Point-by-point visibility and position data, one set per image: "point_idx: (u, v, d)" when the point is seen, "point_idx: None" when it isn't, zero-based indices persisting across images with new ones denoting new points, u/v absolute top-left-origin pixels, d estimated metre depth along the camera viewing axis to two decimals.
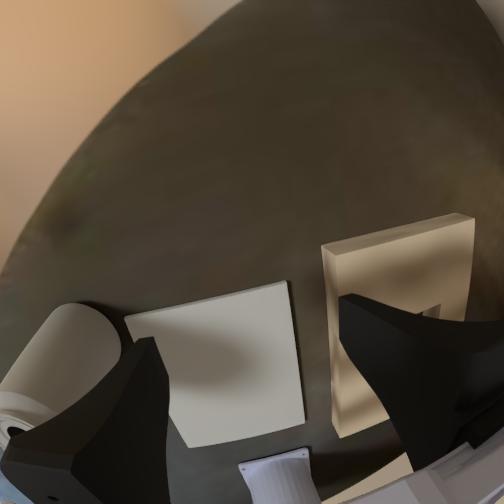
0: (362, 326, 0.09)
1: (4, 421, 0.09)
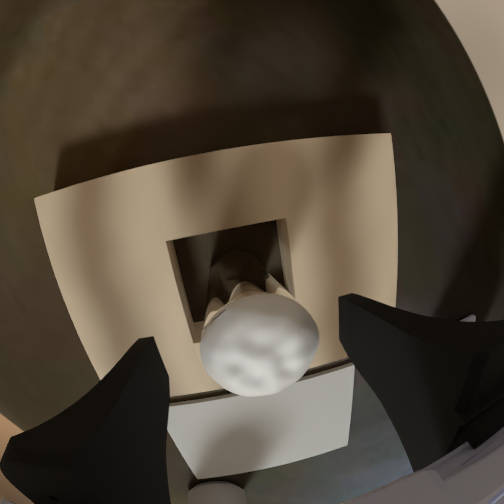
0: (362, 326, 0.09)
1: None
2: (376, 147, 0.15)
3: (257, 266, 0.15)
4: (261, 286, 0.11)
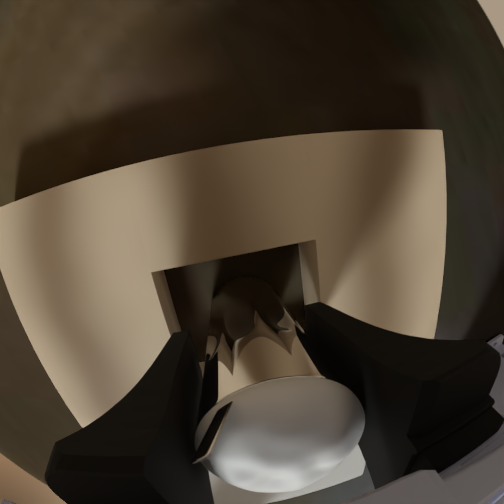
0: (325, 338, 0.09)
1: None
2: (426, 147, 0.11)
3: (275, 308, 0.11)
4: (286, 357, 0.07)
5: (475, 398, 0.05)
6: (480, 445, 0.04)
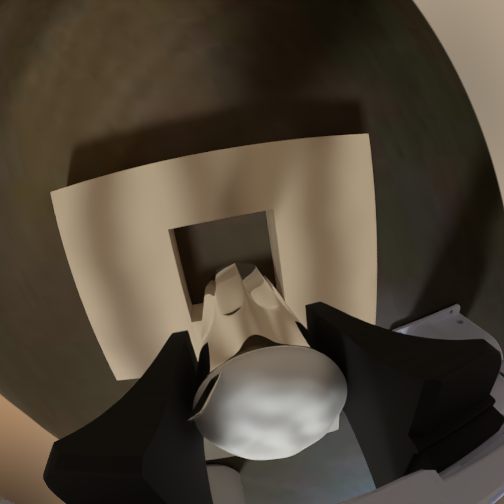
0: (326, 337, 0.09)
1: None
2: (354, 146, 0.17)
3: (263, 289, 0.12)
4: (270, 330, 0.08)
5: (476, 397, 0.05)
6: (480, 444, 0.04)
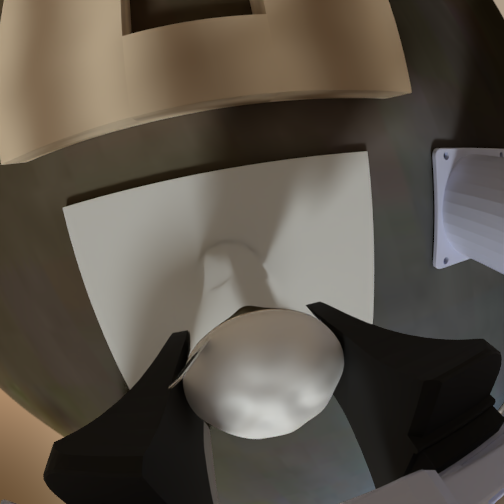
0: None
1: None
2: None
3: (252, 263, 0.12)
4: (257, 297, 0.08)
5: (476, 397, 0.05)
6: (480, 444, 0.04)
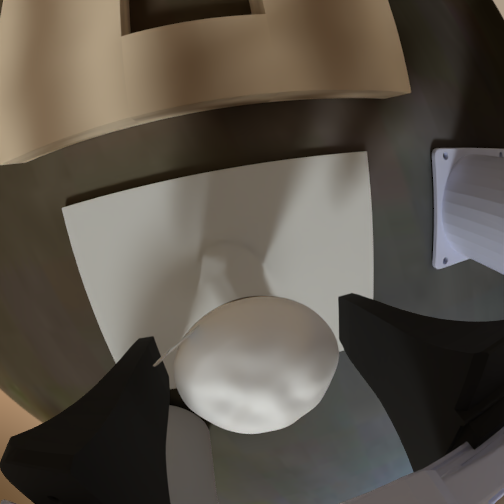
0: (362, 326, 0.09)
1: None
2: None
3: (248, 259, 0.12)
4: (249, 286, 0.08)
5: None
6: None
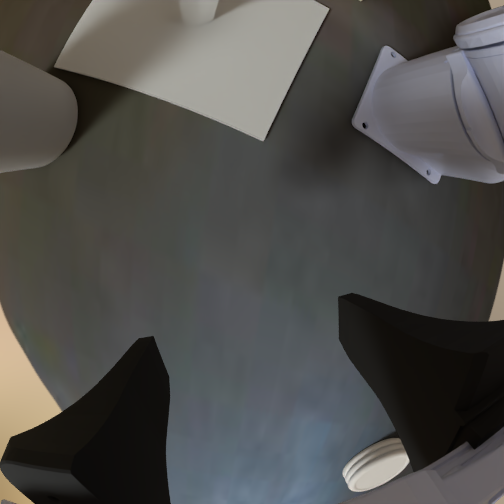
0: (362, 326, 0.09)
1: None
2: None
3: None
4: None
5: None
6: None
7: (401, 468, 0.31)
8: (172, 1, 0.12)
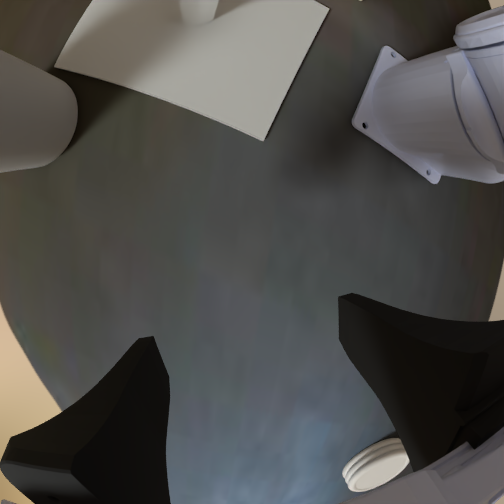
0: (362, 326, 0.09)
1: None
2: None
3: None
4: None
5: None
6: None
7: (401, 468, 0.31)
8: (172, 1, 0.12)
